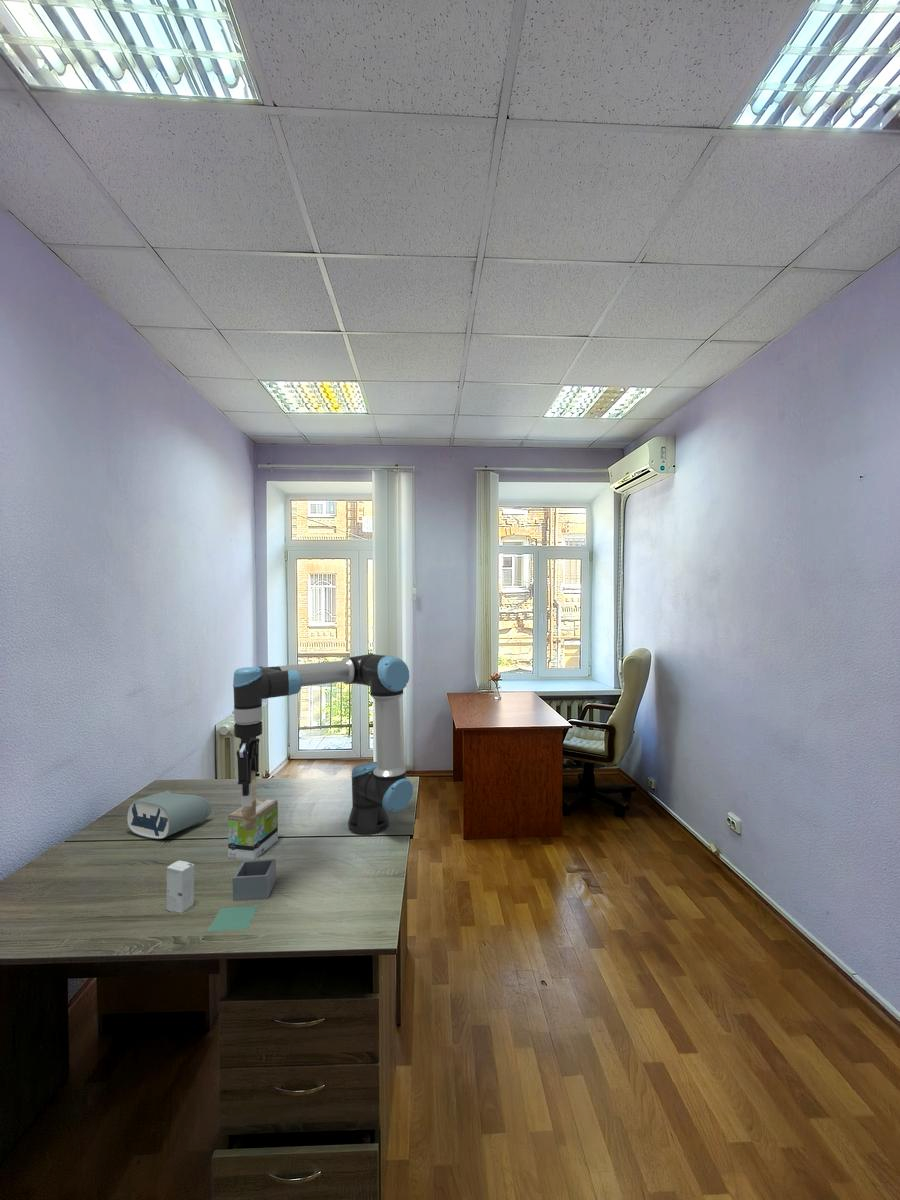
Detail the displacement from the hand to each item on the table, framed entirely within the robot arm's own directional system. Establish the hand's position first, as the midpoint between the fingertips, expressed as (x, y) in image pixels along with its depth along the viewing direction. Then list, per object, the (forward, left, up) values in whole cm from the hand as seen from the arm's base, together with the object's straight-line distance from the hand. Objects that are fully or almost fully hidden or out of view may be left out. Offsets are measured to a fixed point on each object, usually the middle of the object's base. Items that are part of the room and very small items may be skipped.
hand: (249, 802), depth 149 cm
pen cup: (-1, -2, -27) cm, 27 cm away
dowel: (0, 0, -7) cm, 7 cm away
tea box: (+7, -29, -27) cm, 40 cm away
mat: (+1, +11, -27) cm, 29 cm away
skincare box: (+18, +4, -27) cm, 33 cm away
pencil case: (+44, -50, -27) cm, 72 cm away
